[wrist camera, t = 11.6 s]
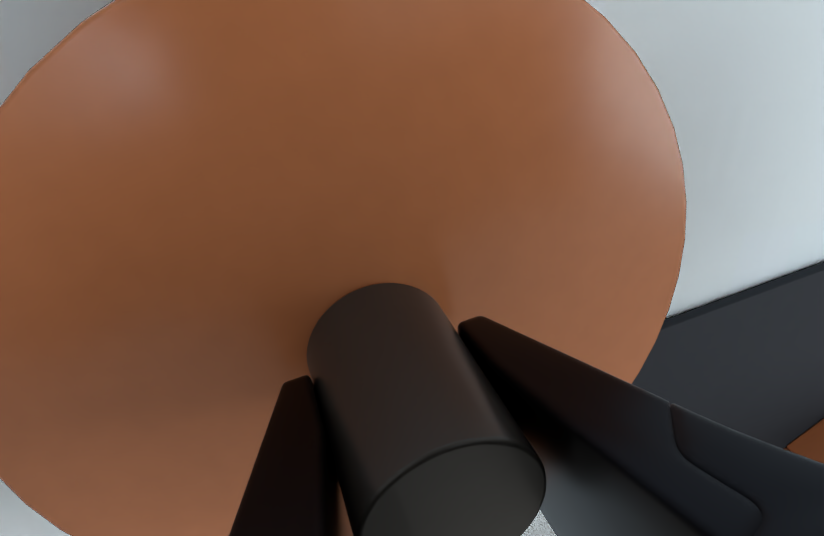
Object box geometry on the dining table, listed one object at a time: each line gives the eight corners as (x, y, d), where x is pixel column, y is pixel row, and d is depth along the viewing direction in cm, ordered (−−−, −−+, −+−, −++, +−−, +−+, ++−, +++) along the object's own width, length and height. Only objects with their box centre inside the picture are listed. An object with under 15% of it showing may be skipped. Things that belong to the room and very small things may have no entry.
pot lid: (155, 639, 12) (142, 898, 9) (-322, 51, 6) (-984, 208, 3) (649, 438, 14) (784, 588, 11) (701, -152, 8) (1058, -209, 5)
